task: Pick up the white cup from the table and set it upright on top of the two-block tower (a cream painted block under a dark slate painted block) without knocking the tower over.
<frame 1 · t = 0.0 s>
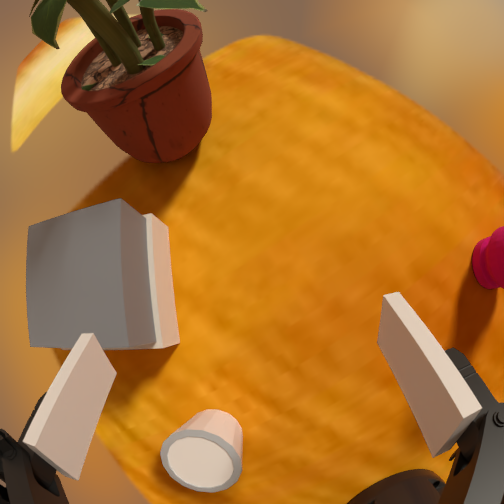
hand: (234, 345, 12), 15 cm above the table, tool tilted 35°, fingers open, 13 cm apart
potted plant: (189, 125, 32), on the table
tower base: (124, 290, 28), on the table, touching tower top
tower top: (98, 285, 24), point 5 cm above the table, touching tower base
pepper mill: (486, 264, 26), on the table
white cup: (215, 431, 25), on the table
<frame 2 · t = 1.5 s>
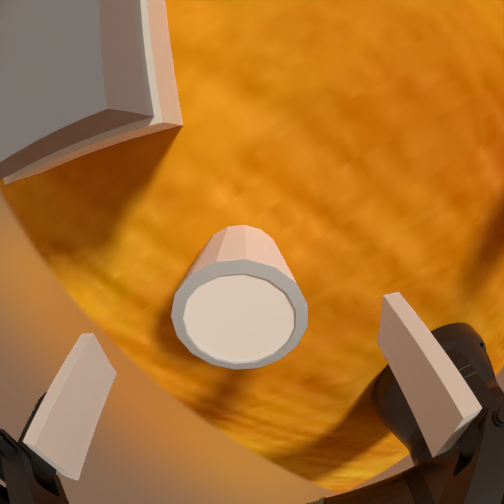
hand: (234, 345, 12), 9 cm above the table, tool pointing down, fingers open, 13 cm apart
tower base: (93, 72, 14), on the table, touching tower top
tower top: (56, 61, 10), point 5 cm above the table, touching tower base
white cup: (241, 261, 20), on the table
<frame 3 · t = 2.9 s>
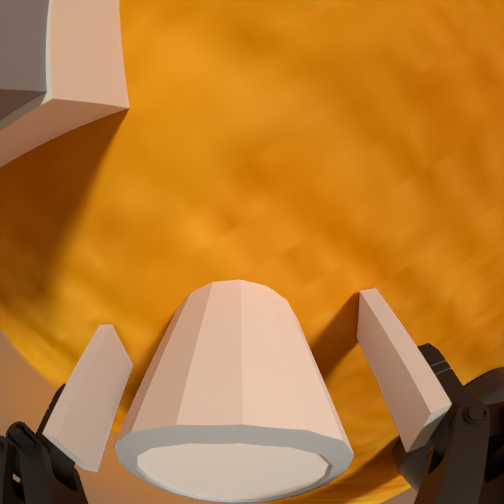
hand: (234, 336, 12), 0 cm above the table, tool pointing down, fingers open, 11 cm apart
tower base: (16, 45, 7), on the table, touching tower top
white cup: (235, 331, 13), on the table
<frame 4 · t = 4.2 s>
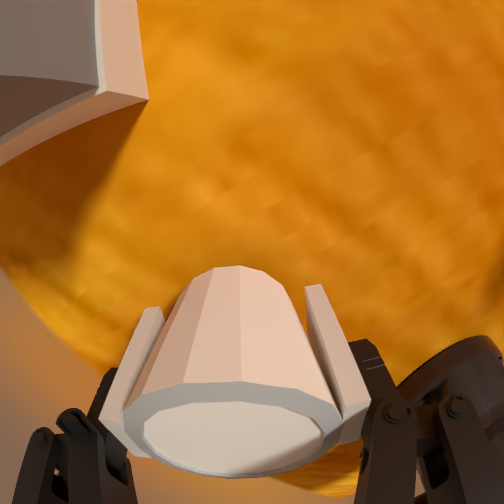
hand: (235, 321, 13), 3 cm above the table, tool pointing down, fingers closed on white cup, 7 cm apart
tower base: (46, 46, 9), on the table, touching tower top
white cup: (234, 315, 14), point 2 cm above the table, touching gripper
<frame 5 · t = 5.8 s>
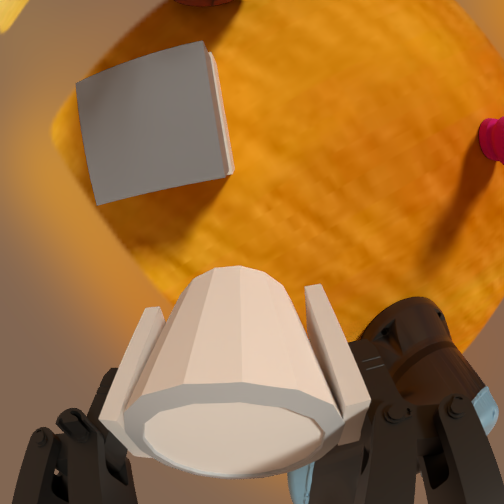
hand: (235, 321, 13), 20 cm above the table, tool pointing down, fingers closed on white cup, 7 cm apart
tower base: (171, 127, 28), on the table, touching tower top
tower top: (160, 124, 23), point 5 cm above the table, touching tower base
pepper mill: (489, 138, 27), on the table
white cup: (235, 315, 14), point 19 cm above the table, touching gripper
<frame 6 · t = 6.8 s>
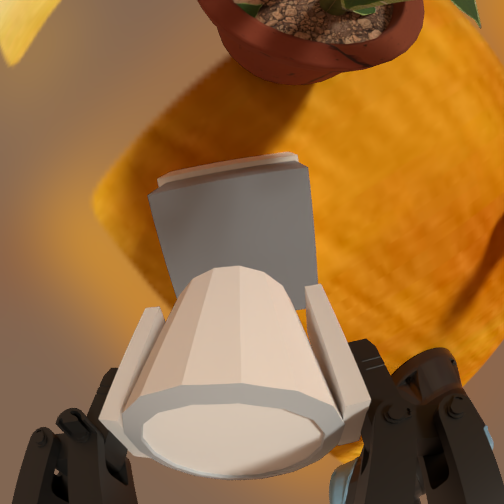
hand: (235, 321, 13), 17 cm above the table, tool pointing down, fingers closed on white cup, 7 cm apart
potted plant: (299, 30, 21), on the table
tower base: (238, 216, 30), on the table, touching tower top
tower top: (240, 231, 25), point 5 cm above the table, touching tower base
white cup: (234, 315, 14), point 17 cm above the table, touching gripper
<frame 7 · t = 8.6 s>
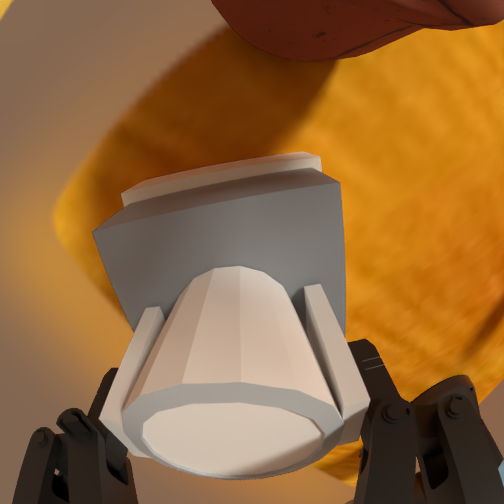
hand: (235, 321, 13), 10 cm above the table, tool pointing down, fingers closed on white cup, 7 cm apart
tower base: (235, 238, 22), on the table, touching tower top
tower top: (235, 268, 18), point 5 cm above the table, touching tower base
white cup: (234, 315, 14), point 9 cm above the table, touching gripper
when the fingers open (10 cm above the table, at t = 8.8 s): white cup stays where it is, resting on tower top.
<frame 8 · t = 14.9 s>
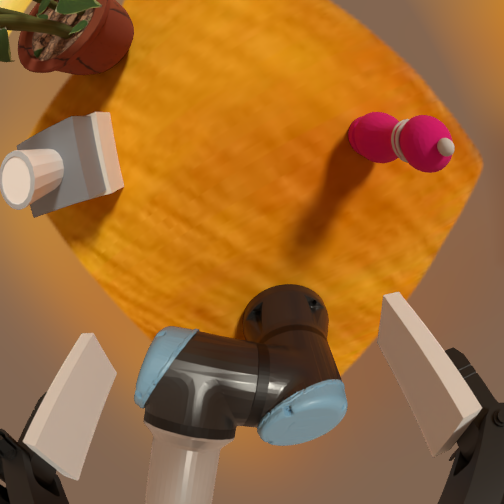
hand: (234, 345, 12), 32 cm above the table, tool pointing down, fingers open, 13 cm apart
potted plant: (120, 35, 30), on the table
tower base: (86, 159, 38), on the table, touching tower top
tower top: (68, 164, 33), point 5 cm above the table, touching white cup, tower base
pepper mill: (366, 136, 38), on the table
white cup: (49, 169, 29), point 9 cm above the table, touching tower top
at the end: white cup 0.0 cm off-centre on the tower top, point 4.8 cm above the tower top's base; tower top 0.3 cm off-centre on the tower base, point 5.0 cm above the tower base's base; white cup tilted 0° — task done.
